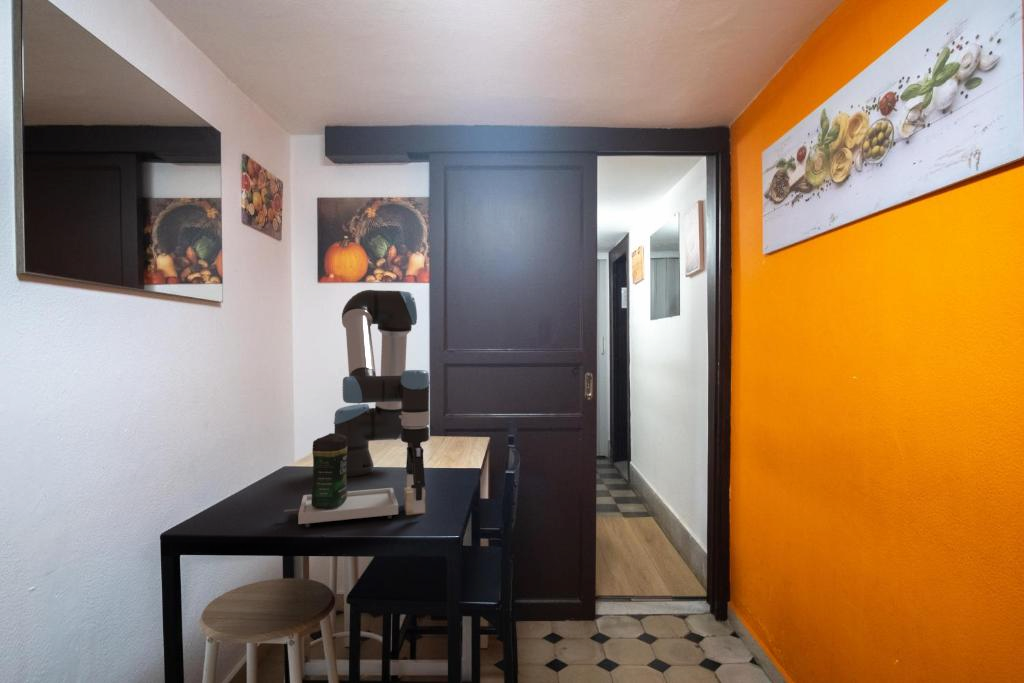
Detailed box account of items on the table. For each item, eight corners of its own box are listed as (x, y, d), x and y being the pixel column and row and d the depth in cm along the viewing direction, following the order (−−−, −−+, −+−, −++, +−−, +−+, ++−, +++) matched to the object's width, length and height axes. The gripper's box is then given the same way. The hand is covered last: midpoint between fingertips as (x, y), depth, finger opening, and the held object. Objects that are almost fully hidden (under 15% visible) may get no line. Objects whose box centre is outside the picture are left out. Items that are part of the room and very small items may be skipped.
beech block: (404, 509, 140) (404, 487, 140) (422, 507, 142) (422, 486, 142) (406, 515, 135) (406, 492, 135) (425, 513, 137) (425, 491, 137)
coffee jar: (337, 510, 130) (337, 438, 130) (307, 509, 130) (307, 437, 130) (351, 498, 139) (351, 431, 139) (323, 498, 140) (323, 431, 140)
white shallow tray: (287, 511, 138) (287, 496, 138) (392, 501, 146) (392, 487, 146) (280, 532, 123) (280, 516, 123) (398, 520, 131) (398, 504, 131)
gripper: (396, 420, 149) (396, 492, 149) (406, 435, 125) (406, 520, 125) (422, 419, 151) (422, 490, 151) (436, 433, 128) (436, 517, 128)
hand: (414, 504), depth 138 cm, fingers open, 13 cm apart
